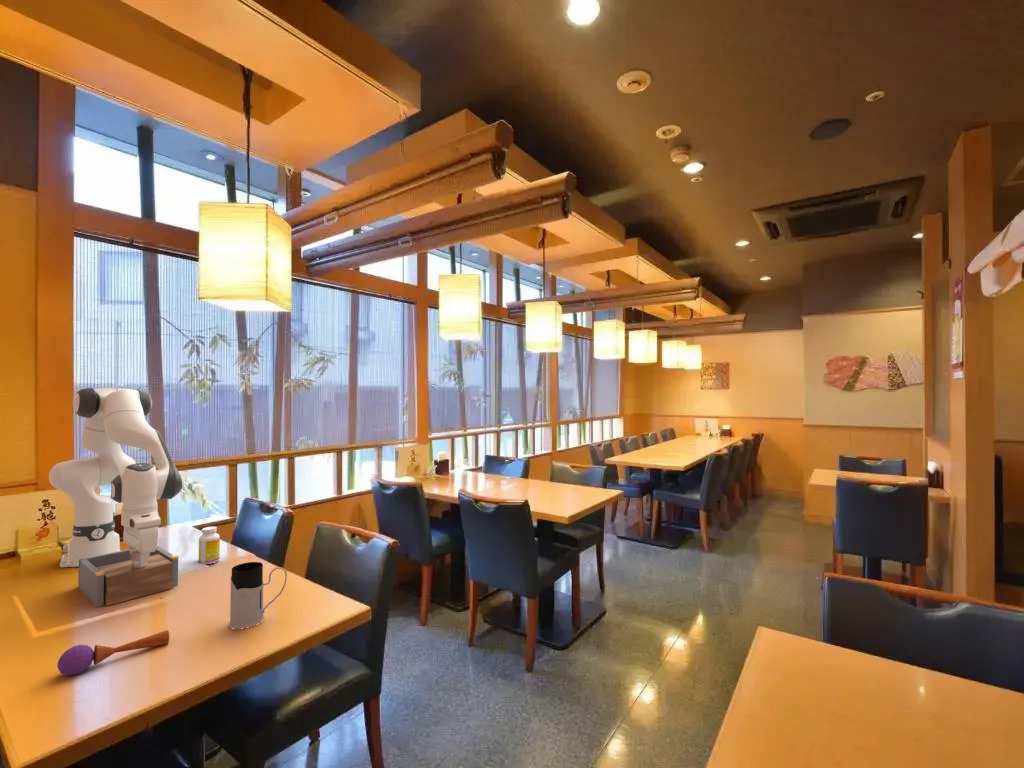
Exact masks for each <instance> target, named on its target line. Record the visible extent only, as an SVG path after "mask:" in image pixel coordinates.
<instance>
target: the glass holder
mask: <svg viewBox="0 0 1024 768" xmlns="http://www.w3.org/2000/svg"><path fill="white" fill-rule="evenodd" d="M275 570H283V572H284V575H285V576H284V578H285V579H284V584H283V586H282V588H281V589H280V591H279V593H278V594H277V595H276V596H275V597H274V598H273V599H272V600H271V601H270V602H268V603H267V604H266V605H265V606H264V586H267V585H269V584H270V583H271V576H272V574H273V573H274V572H275ZM263 572H264V565H263V563H262V562H261V561H249V562H248V561H247V562H244V563H240V564H237V565H234V566H233V567H232V568H231V577H230V602H229V603H230V609H229V610H230V612H229V613H230V615H229V616H230V619H229V623H228V626H229V627H230V628H234V629H241V628H247V627H251V626H254V625H256V624H258V623H260V622H261V621H262V620H263V619H264V617H265V615H264V614H265V610H266V609H267V608H268V607H269V606H270V605H271V604H272V603H273V602H274V601H275V600H277V598H278V597H279V596H280V595H282V593H283V591H284V589H285V587H286V583H287V579H288V577H287V576H288V573H287V571H286V569H285V568H283V567H279V566H277V567H275V568H273V569H272V570H271V571H270V572H269V576H268V582H266V583H264V581H263V580H264V579H263V577H264V575H263V574H264V573H263ZM228 626H227V627H228ZM229 627H228V628H229ZM254 627H255V626H254ZM230 628H229V629H230ZM251 628H252V627H251ZM234 629H233V630H234ZM241 630H242V629H241Z"/></svg>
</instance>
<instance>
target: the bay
mask: <svg viewBox="0 0 1024 768" xmlns="http://www.w3.org/2000/svg"><path fill="white" fill-rule="evenodd" d="M156 554H159V555H161V556H163V557H164V558H166V559H168V560H169V561H171V562H173V588H174V587H177V586H179V582H178V581H179V555H177V554H173V553H170V552H169V551H167V550H166V549H163V548H162V547H160V546H159V545H157V548H156V550H155V551H154V552H151V553H150V555H149V556H151V555H156ZM128 560H132V559H130V551H129V548H128V549H123V550H121V551H118V552H113V553H108V554H103V555H98V556H93V557H88V558H83V559H79V567H78V579H77V581H78V584H77V585H78V586H77V587H78V589H79V590H80V591H81V592H82V593H83V595H84V596H85V597H87V599H88V600H89V601H90V602H91V603H92V604H93V605H94V606H95V607H96V608H99V607H100V608H101V607H103V606H107V605H106V604H105V603H104V572H103V571H101V572H100V571H99V570H98V569H97V568H96V567H101V566H105V565H110V564H114V563H119V562H124V561H128Z"/></svg>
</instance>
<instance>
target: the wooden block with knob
mask: <svg viewBox="0 0 1024 768" xmlns="http://www.w3.org/2000/svg"><path fill="white" fill-rule="evenodd" d="M140 557H141V555H140V552H138V551H137V550H136V551H133V552H132V560H128V561H124V562H119V563H114V564H110V565H105V566H101V567H96V568H97V569H98V570H99V571H100V572H101V571H103V572H104V603H105V604H106V605H105V606H111V605H114V604H119V603H122V602H126V601H129V600H130V601H131V600H134V599H137V598H141V597H145V596H149V595H153V594H156V593H159V592H163V591H164V592H165V591H168V590H170V589H173V588H174V587H173V562H171V561H169V560H168V559H166V558H164V557H163V556H161V555H159V554H156V555H151V556H149V559H148V565H147V566H140V565H139V560H140Z"/></svg>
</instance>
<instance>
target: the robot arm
mask: <svg viewBox="0 0 1024 768" xmlns="http://www.w3.org/2000/svg"><path fill="white" fill-rule="evenodd" d="M152 407H153V399H152V395H151V394H150V393H149V392H148V391H146V390H143V389H139V388H138V389H132V388H124V387H123V388H122V387H103V388H102V387H100V388H98V387H97V388H93V387H87V388H81V389H80V390H78V391H76V393H75V395H74V397H73V399H72V408H73V411H74V413H75V414H76V415H77V416H78V417H80V418H81V417H82V418H85V419H84V424H83V429H82V435H81V442H80V443H81V446H82V447H83V448H84V449H85V450H87V451H89V452H92V453H96V454H98V456H97V457H95V456H94V457H89V458H77V459H76V458H74V459H70V460H65V461H61V462H59V463H58V462H57V463H55V464H54V466H52V468H51V469H50V471H49V474H48V480H49V483H50V484H51V485H52V487H53V488H55V489H57V490H59V491H61V492H62V493H64V494H65V495H67V496H68V498H69V499H70V500H71V502H72V505H73V510H74V511H73V512H74V525H73V526H72V527H73V528H72V530H71V531H72V537H71V539H70V540H69V542H68V543H67V544H66V545H63V546H62V547H63V549H62V552H63V553H64V554H63V555H62V556H61V559H60V563H59V568H68V567H69V568H71V567H72V568H73V567H75V568H76V567H78V568H79V559H83V558H88V557H93V556H98V555H103V554H108V553H113V552H118V551H122V550H121V549H120V543H121V542H120V534H119V533H118V532H116V531H115V529H116V528H115V526H116V523H115V520H114V502H113V501H115V502H116V503H118V504H122V505H121V510H120V511H121V519H120V520H121V521H120V524H121V526H123V533H122V535H123V539H122V540H123V543H124V544H125V545H127V546H128V549H129V551H130V559H132V552H133V551H136V550H137V551H138V552H140V555H141V557H140V560H139V565H140V566H147V565H148V559H149V555H150V553H151V552H154V551H155V550H156V548H157V546H158V543H159V542H158V540H159V526H161V524H162V523H161V521H162V519H161V517H160V515H159V510H158V508H159V506H158V505H159V504H158V501H157V500H171V499H173V498H175V497H176V496H177V495H178V494H179V493H180V492H181V491H182V488H183V478H182V476H181V473H180V471H179V470H178V468H177V467H176V465H175V462H174V461H173V459H172V455H171V454H170V451H169V448H168V447H167V445H166V442H165V440H164V438H163V435H162V434H161V433H160V431H159V430H157V429H155V428H153V427H152V426H151V425H150V424H149V423H148V422H147V420H146V416H147V415H149V414H150V412H151V410H152ZM122 446H125V447H126V446H127V447H133V448H137V449H141V450H143V451H146V452H148V453H150V455H151V456H152V458H153V461H154V463H155V464H152V463H146V462H139V463H137V462H136V461H135V460H134V458H133V457H131V456H130V455H127V454H126V453H125V452H124V451H123V449H122ZM155 465H156V466H155ZM109 485H110V486H111V490H110V497H108V496H105V495H102V494H99V493H96V491H95V488H96V487H102V486H109Z"/></svg>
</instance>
